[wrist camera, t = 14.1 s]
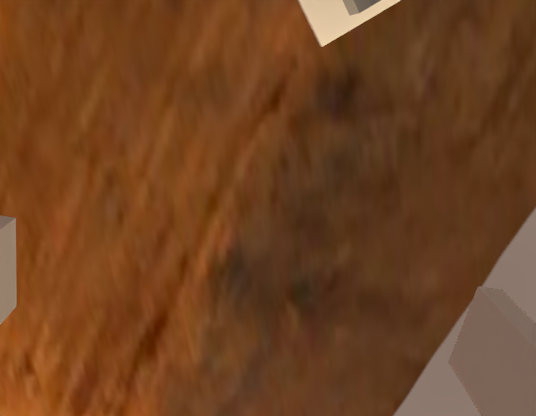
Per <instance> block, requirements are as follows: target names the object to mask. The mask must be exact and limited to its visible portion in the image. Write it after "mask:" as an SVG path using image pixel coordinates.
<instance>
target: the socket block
mask: <svg viewBox="0 0 536 416" xmlns="http://www.w3.org/2000/svg"><path fill="white" fill-rule="evenodd" d="M297 1H298V3H299V5H300V7H301V9H302V11H303V13H304V15H305V17H306V19H307V21H308V23H309V25H310V27H311V29H312V31H313V33H314V35H315V37H316V39H317V41H318V43H319V45H320V47H323V46H324V45H326V44H328V43H329V42H331V41H333V40H335V39H336V38H338V37H340V36H341V35H343V34H345V33H346V32H348V31H350V30H351V29H353V28H355V27H356V26H358V25H360V24H361V23H363V22H365V21H367V20H368V19H370V18H372V17H373V16H375V15H377V14H378V13H380V12H382V11H383V10H385V9H387V8H388V7H390V6H392V5H393V4H395V3H397V2H399V1H400V0H297Z"/></svg>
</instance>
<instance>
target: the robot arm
mask: <svg viewBox="0 0 536 416" xmlns="http://www.w3.org/2000/svg"><path fill="white" fill-rule="evenodd" d="M15 307H16V218H12V217H6V216H0V324H1V323H2V322H3V321H4V320H5V319H6V317H7V316H8V315H9V314H10V313H11V312H12V311H13V310H14V308H15ZM449 364H450V365H451V367H452V369H453V370H454V372H455V373H456V375H457V376H458V378H459V380H460V381H461V383H462V385H463V386H464V388H465V390H466V391H467V393H468V395H469V396H470V398H471V399H472V401H473V403H474V404H475V406H476V408H477V409H478V411H479V412H480V414H481V416H536V323H535V322H534V321H533V320H532V319H531V318H530V317H529V316H528V315H527V314H526V313H525V312H524V311H523V310H522V309H521V308H520V307H519V306H518V305H517V304H516V303H515V302H514V301H513V300H512V299H511V298H510V297H509V296H508V295H507V294H506V293H505V292H504V291H503V290H499V289H493V288H486V287H479V286H478V287H477V290H476V293H475V295H474V298H473V300H472V303H471V305H470V308H469V311H468V313H467V316H466V319H465V321H464V324H463V326H462V329H461V332H460V334H459V336H458V339H457V342H456V344H455V347H454V349H453V352H452V354H451V357H450V360H449Z"/></svg>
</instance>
